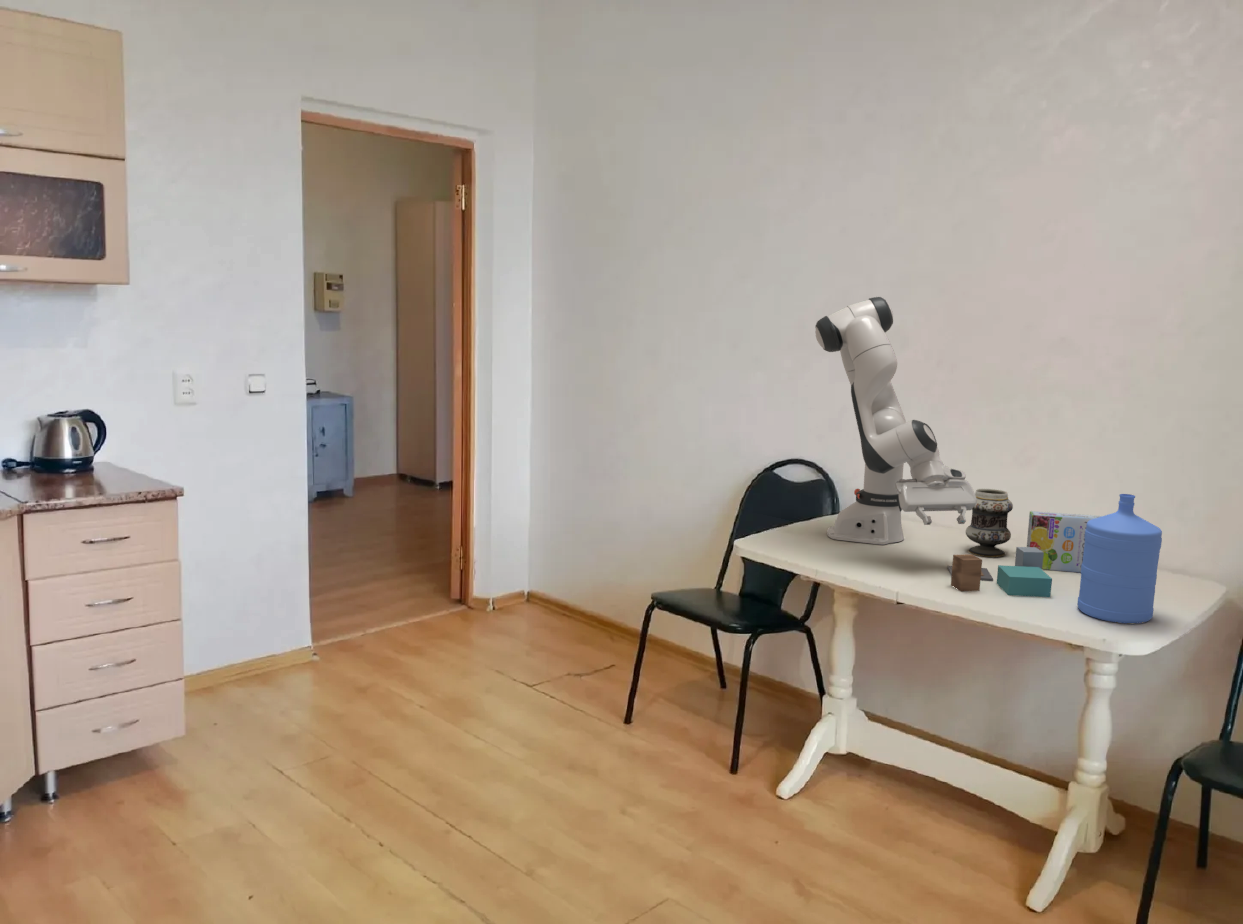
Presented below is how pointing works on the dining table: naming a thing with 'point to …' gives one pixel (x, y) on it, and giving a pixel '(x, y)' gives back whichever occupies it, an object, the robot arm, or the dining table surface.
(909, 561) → the dining table surface
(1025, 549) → the slate grey block
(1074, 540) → the snack box
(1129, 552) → the water jug
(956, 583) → the walnut block
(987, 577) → the card
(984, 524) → the apothecary jar
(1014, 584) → the teal base block
